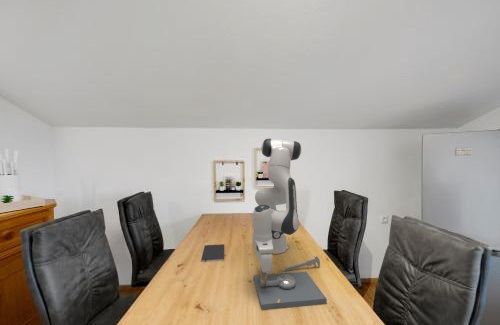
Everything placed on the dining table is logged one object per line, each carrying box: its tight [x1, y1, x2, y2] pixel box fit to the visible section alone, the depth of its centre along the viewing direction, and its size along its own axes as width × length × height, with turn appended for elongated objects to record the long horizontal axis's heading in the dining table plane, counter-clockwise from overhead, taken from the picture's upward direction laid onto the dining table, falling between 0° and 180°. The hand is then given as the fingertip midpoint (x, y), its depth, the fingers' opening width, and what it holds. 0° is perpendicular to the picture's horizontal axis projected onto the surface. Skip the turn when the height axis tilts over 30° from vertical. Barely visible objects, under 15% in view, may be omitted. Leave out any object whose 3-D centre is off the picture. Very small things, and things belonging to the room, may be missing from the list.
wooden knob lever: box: [260, 269, 295, 289], centre depth 95 cm, size 15×8×7 cm, turn 97°
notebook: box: [200, 243, 225, 263], centre depth 133 cm, size 13×2×21 cm
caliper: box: [282, 255, 321, 272], centre depth 113 cm, size 20×1×6 cm, turn 100°
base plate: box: [253, 271, 328, 311], centre depth 95 cm, size 21×26×2 cm
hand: (262, 272), depth 99 cm, fingers closed
